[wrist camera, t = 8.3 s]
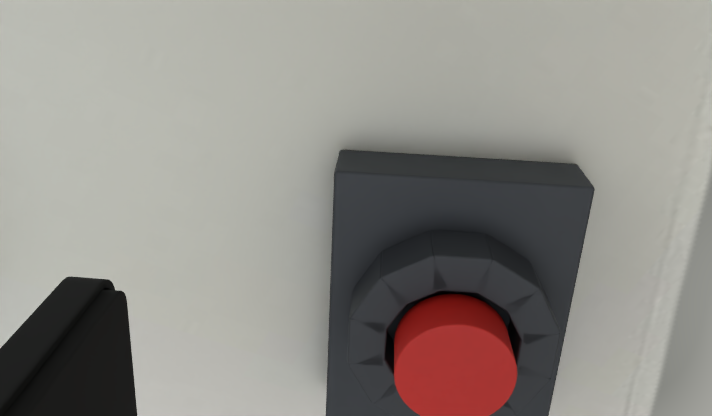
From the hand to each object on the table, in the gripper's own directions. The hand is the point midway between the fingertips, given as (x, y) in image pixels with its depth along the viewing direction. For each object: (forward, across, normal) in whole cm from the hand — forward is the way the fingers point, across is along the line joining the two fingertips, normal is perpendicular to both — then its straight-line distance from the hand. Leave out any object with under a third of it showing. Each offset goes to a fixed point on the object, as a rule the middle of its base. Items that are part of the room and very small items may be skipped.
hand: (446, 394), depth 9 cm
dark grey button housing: (+14, -2, +6) cm, 15 cm away
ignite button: (+10, -2, +6) cm, 12 cm away
